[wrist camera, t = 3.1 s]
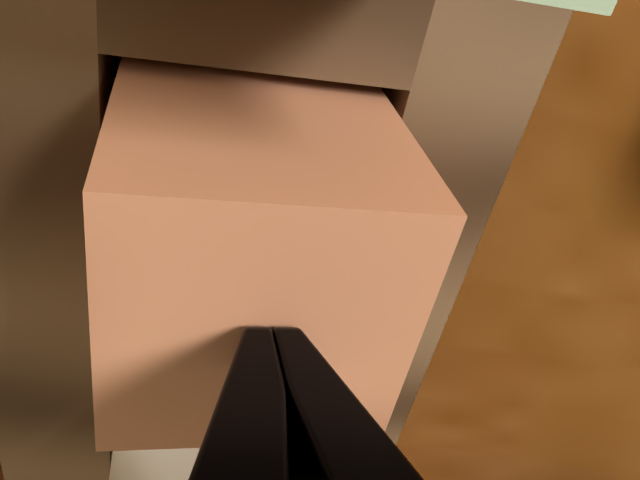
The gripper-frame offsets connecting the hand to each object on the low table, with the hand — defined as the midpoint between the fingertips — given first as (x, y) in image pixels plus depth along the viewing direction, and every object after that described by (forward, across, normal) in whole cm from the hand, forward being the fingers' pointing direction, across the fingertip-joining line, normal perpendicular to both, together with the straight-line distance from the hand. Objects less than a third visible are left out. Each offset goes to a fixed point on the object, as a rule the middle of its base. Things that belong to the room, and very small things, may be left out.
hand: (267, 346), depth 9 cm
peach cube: (+5, 0, 0) cm, 5 cm away
